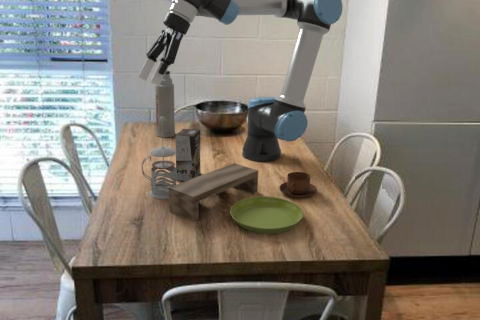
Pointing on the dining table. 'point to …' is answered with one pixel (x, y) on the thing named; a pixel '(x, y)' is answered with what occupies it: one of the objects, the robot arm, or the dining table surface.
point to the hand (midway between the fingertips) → (147, 81)
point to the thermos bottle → (165, 106)
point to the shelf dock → (210, 188)
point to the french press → (161, 187)
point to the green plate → (266, 214)
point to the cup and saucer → (298, 185)
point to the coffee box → (187, 154)
